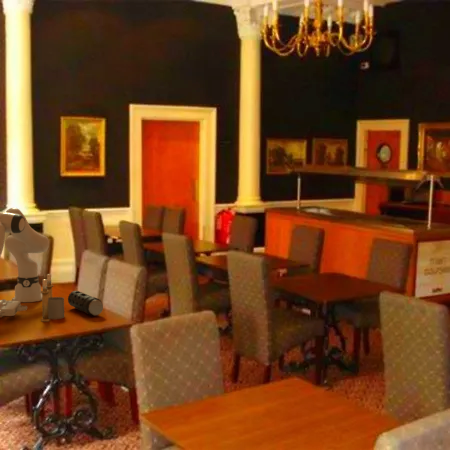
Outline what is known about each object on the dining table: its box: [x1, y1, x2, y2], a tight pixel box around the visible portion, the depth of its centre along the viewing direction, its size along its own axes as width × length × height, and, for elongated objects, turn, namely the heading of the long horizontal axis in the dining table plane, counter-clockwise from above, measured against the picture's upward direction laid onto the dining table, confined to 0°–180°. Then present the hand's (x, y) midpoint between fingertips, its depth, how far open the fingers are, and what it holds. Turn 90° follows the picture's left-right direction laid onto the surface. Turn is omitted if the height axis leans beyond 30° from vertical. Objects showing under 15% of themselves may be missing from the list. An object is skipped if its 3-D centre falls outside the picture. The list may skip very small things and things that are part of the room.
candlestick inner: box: [46, 273, 54, 298], centre depth 376 cm, size 4×4×22 cm
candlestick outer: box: [40, 278, 51, 323], centre depth 360 cm, size 4×4×22 cm
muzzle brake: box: [67, 290, 104, 317], centre depth 380 cm, size 10×28×10 cm, turn 35°
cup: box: [48, 296, 65, 320], centre depth 369 cm, size 8×8×10 cm
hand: (26, 308), depth 367 cm, fingers closed
